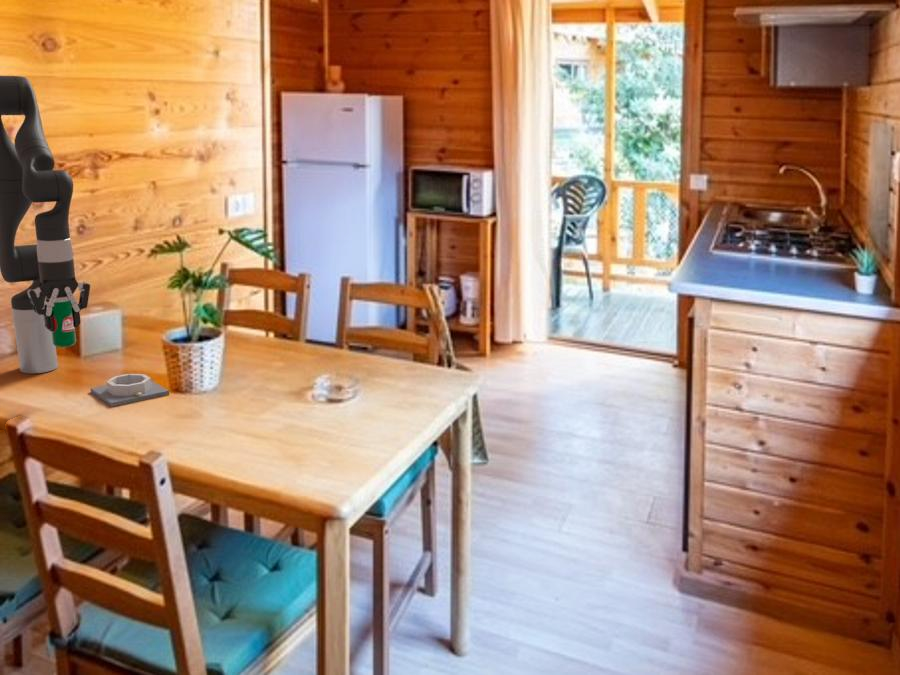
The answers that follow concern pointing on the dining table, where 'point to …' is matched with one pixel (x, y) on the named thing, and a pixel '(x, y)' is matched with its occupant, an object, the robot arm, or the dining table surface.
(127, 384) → the grey can holder
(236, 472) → the dining table surface
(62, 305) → the soda can
